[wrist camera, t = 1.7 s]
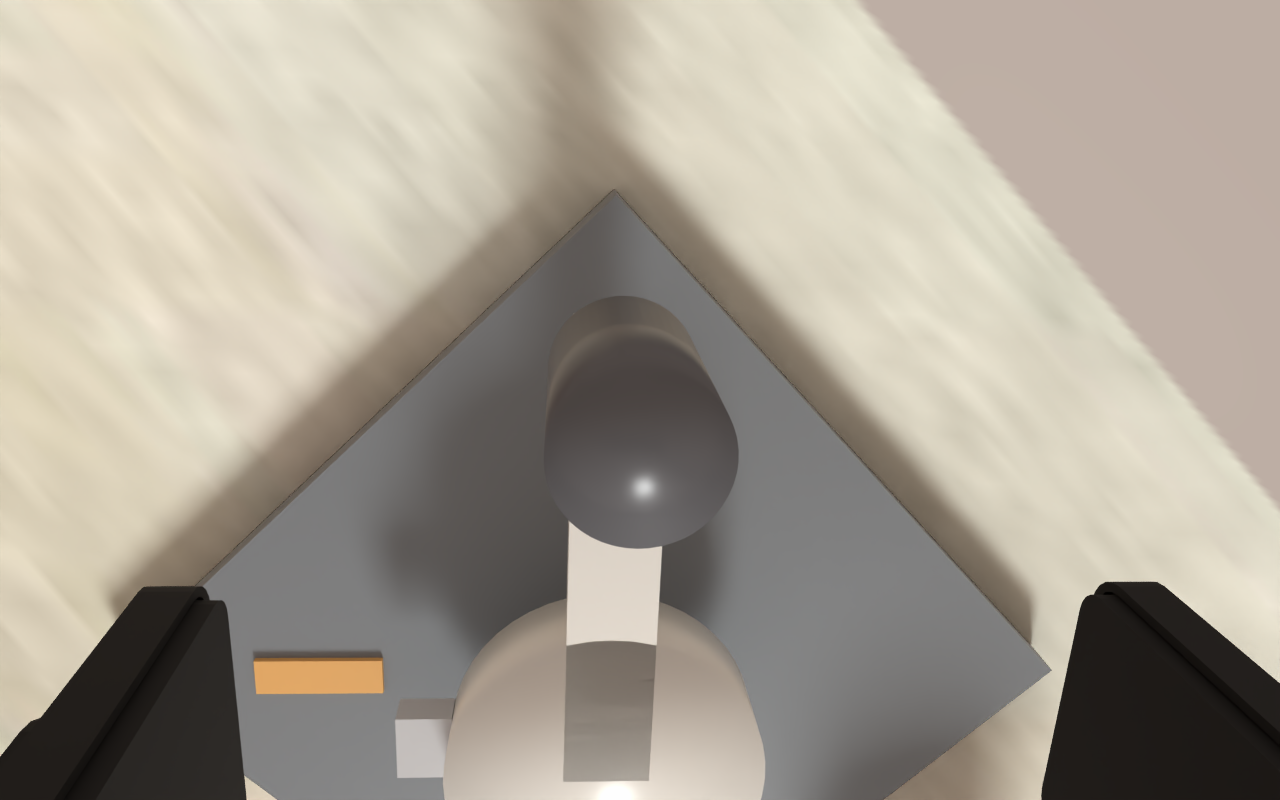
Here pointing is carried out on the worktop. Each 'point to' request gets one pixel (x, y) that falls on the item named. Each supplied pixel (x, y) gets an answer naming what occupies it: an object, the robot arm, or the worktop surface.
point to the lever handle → (608, 597)
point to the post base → (538, 552)
